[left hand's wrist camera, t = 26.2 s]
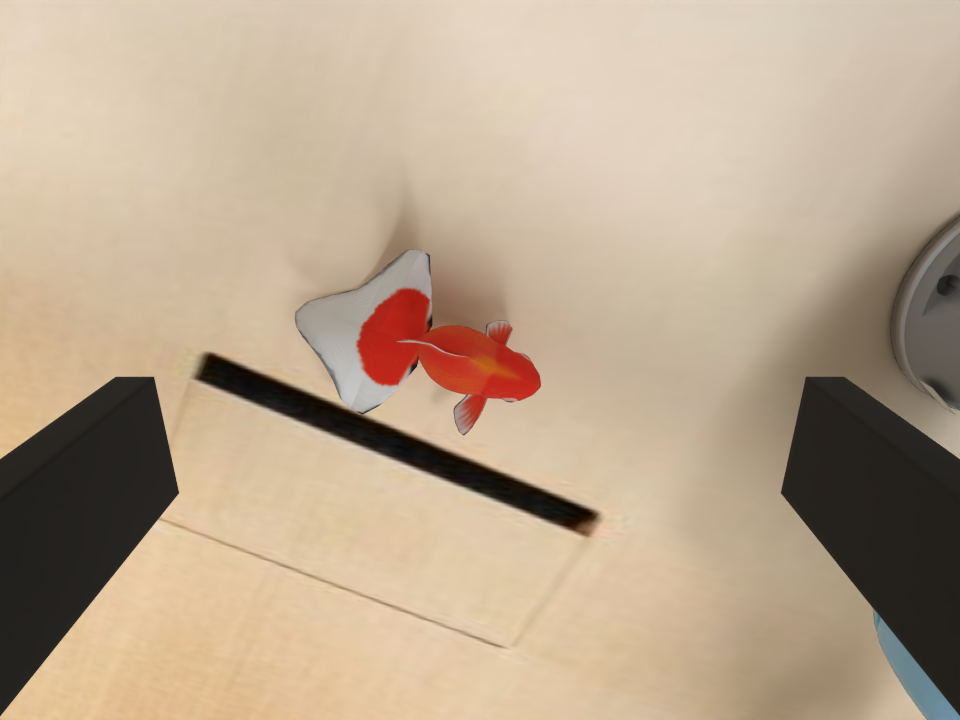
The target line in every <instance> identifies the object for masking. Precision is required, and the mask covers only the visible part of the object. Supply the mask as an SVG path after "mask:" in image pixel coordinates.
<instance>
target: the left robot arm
mask: <svg viewBox="0 0 960 720" xmlns="http://www.w3.org/2000/svg"><path fill="white" fill-rule="evenodd" d="M891 340H892V346H893V351H894V354H895V357H896V360H897V362H898V364H899V366H900V368H901V370H902V371H903V373H904V374H905V376H906V377H907V378H908V379H909V380H910V382H911V383H912V384H913V385H915V386H916V387H917V388H918V389H919V390H921V391H922V392H924V393H926V394H927V395H929V396H930V397H932V398H934V399H935V400H937V401H938V403H939V404H940V405H941V406H942V407H944V408H945V409H947V410H948V411H950V412H952V413H953V414H955V413H954V412H953V411H952V410H951V409H950V408H949V407H951V408H954V409H956V410H959V411H960V217H958V218H957V219H955V220H954V221H953V222H951V223H950V224H949V225H948V226H946V227H945V228H944V229H943V230H942V231H941V232H939V233H938V234H937V235H936V236H935V237H934V238H933V239H932V240H931V241H930V243H929V244H928V245H927V246H926V247H925V248H924V249H923V250H922V252H921V253H920V254H919V256H918V257H917V258H916V260H915V261H914V263H913V264H912V266H911V267H910V269H909V271H908V272H907V274H906V276H905V278H904V280H903V282H902V284H901V286H900V289H899V291H898V294H897V297H896V300H895V303H894V308H893V312H892V320H891ZM178 494H179V491H178V486H177V481H176V477H175V472H174V467H173V463H172V458H171V454H170V449H169V444H168V440H167V435H166V430H165V426H164V421H163V417H162V412H161V407H160V403H159V398H158V393H157V389H156V384H155V380H154V377H115V378H114V379H112V380H111V381H109V382H108V383H107V384H105V385H104V386H102V387H101V388H100V389H98V390H97V391H95V392H94V393H93V394H91V395H90V396H88V397H87V398H86V399H84V400H83V401H81V402H80V403H78V404H77V405H76V406H74V407H73V408H71V409H70V410H69V411H67V412H66V413H64V414H63V415H62V416H60V417H59V418H57V419H56V420H55V421H53V422H52V423H50V424H49V425H48V426H46V427H45V428H43V429H42V430H41V431H39V432H38V433H36V434H35V435H34V436H32V437H31V438H29V439H28V440H27V441H25V442H24V443H22V444H21V445H20V446H18V447H17V448H15V449H14V450H13V451H11V452H10V453H8V454H7V455H6V456H4V457H3V458H1V459H0V716H1V715H2V713H3V712H4V711H5V710H6V708H7V707H8V706H9V705H10V703H11V702H12V701H13V700H14V698H15V697H16V696H17V695H18V693H19V692H20V691H21V690H22V688H23V687H24V686H25V685H26V683H27V682H28V681H29V680H30V678H31V677H32V676H33V675H34V673H35V672H36V671H37V670H38V668H39V667H40V666H41V665H42V663H43V662H44V661H45V660H46V658H47V657H48V656H49V655H50V653H51V652H52V651H53V650H54V648H55V647H56V646H57V645H58V643H59V642H60V641H61V640H62V638H63V637H64V636H65V635H66V633H67V632H68V631H69V630H70V628H71V627H72V626H73V625H74V623H75V622H76V621H77V620H78V618H79V617H80V616H81V615H82V613H83V612H84V611H85V610H86V608H87V607H88V606H89V605H90V603H91V602H92V601H93V600H94V599H95V597H96V596H97V595H98V594H99V592H100V591H101V590H102V589H103V587H104V586H105V585H106V584H107V582H108V581H109V580H110V579H111V577H112V576H113V575H114V574H115V572H116V571H117V570H118V569H119V567H120V566H121V565H122V564H123V562H124V561H125V560H126V559H127V557H128V556H129V555H130V554H131V552H132V551H133V550H134V549H135V547H136V546H137V545H138V544H139V542H140V541H141V540H142V539H143V537H144V536H145V535H146V534H147V532H148V531H149V530H150V529H151V527H152V526H153V525H154V524H155V522H156V521H157V520H158V519H159V517H160V516H161V515H162V514H163V512H164V511H165V510H166V509H167V507H168V506H169V505H170V504H171V502H172V501H173V500H174V499H175V497H176V496H177V495H178ZM781 494H782V495H783V496H784V497H785V499H786V500H787V501H788V502H789V504H790V505H791V506H792V507H793V509H794V510H795V511H796V512H797V514H798V515H799V516H800V517H801V519H802V520H803V521H804V522H805V524H806V525H807V526H808V527H809V529H810V530H811V531H812V532H813V534H814V535H815V536H816V537H817V539H818V540H819V541H820V542H821V544H822V545H823V546H824V547H825V549H826V550H827V551H828V552H829V554H830V555H831V556H832V557H833V559H834V560H835V561H836V562H837V564H838V565H839V566H840V567H841V569H842V570H843V571H844V572H845V574H846V575H847V576H848V577H849V579H850V580H851V581H852V582H853V584H854V585H855V586H856V587H857V589H858V590H859V591H860V592H861V594H862V595H863V596H864V597H865V599H866V600H867V601H868V602H869V603H870V605H871V606H872V607H873V608H874V611H873V615H874V624H875V628H876V630H877V635H878V638H879V642H880V645H881V647H882V649H883V652H884V654H885V656H886V658H887V660H888V662H889V664H890V666H891V667H892V669H893V671H894V673H895V674H896V676H897V678H898V679H899V681H900V682H901V684H902V686H903V687H904V689H905V690H906V692H907V693H908V695H909V696H910V697H911V699H912V700H913V702H914V703H915V705H916V706H917V707H918V709H919V710H920V711H921V713H922V714H923V715H924V717H925V718H926V719H927V720H960V459H959V458H957V457H956V456H954V455H953V454H952V453H950V452H949V451H947V450H946V449H945V448H943V447H942V446H940V445H939V444H938V443H936V442H935V441H933V440H932V439H931V438H929V437H928V436H926V435H925V434H924V433H922V432H921V431H919V430H918V429H917V428H915V427H914V426H912V425H911V424H910V423H908V422H907V421H905V420H904V419H903V418H901V417H900V416H898V415H897V414H896V413H894V412H893V411H891V410H890V409H889V408H887V407H886V406H884V405H883V404H882V403H880V402H879V401H877V400H876V399H874V398H873V397H872V396H870V395H869V394H867V393H866V392H865V391H863V390H862V389H860V388H859V387H858V386H856V385H855V384H853V383H852V382H851V381H849V380H848V379H846V378H845V377H806V380H805V384H804V389H803V393H802V398H801V403H800V407H799V412H798V417H797V421H796V426H795V430H794V435H793V440H792V444H791V449H790V454H789V458H788V463H787V467H786V472H785V477H784V481H783V486H782V491H781Z"/></svg>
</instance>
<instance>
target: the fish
mask: <svg viewBox="0 0 960 720" xmlns="http://www.w3.org/2000/svg"><path fill="white" fill-rule="evenodd" d="M295 322H296V327H297V328H298V330H299V332H300V333H301V335H302V337H303V338H304V339H305V340H306V341H307V343H308V344H309V345H310V346H311V347H312V349H313V350H314V351H315V353H316V354H317V355H318V357H319V358H320V359H321V361H322V362H323V364H324V365H325V367H326V369H327V371H328V372H329V374H330V376H331V377H332V379H333V381H334V384H335V386H336V389H337V391H338V394H339V397H340V399H341V400H342V401H343V402H344V403H345V404H346V405H347V406H348V407H349V408H350V409H352V410H354V411H356V412H358V413H361V414H365V413H366V412H368V411H370V410H372V409H374V408H376V407H378V406H379V405H380V404H381V403H383V402H384V401H385V400H386V399H387V398H389V397H390V396H391V395H392V394H393V393H394V392H395V390H396V389H397V388H398V387H399V386H400V385H401V384H402V383H403V382H404V381H405V379H406V378H407V377H408V376H409V375H410V374H411V373H412V371H413V370H414V369H415V368H416V367H417V364H418V359H419V360H420V362H421V364H422V366H423V367H424V369H425V370H426V372H427V374H428V375H429V376H430V378H431V379H433V380H434V381H435V382H436V383H437V384H439V385H440V386H442V387H444V388H445V389H448V390H450V391H453V392H457V393H461V394H467V395H466V396H465V398H464V399H463V400H462V401H460V402H459V403H458V404H457V405H456V406H455V408H454V418H455V423H456V426H457V428H458V430H459V432H460V433H461V434H462V435H465V434H466V433H467V432H468V431H469V430H470V429H471V428H472V427H473V425H474V424H475V422H476V421H477V419H478V418H479V416H480V414H481V412H482V410H483V408H484V406H485V404H486V401H487V398H497V399H502V400H504V401H506V402H515V401H520V400H523V399H525V398H527V397H530V396H531V395H533V394H534V393H535V392H536V391H537V390H538V389H539V388H540V387H541V381H540V375H539V373H538V372H537V370H536V368H535V367H534V365H533V363H532V362H531V360H530V358H529V357H528V356H527V355H525V354H523V353H517V352H514V351H512V350H511V349H509V348H508V347H507V346H506V343H507V341H508V339H509V336H510V334H511V331H512V327H511V326H510V325H509V323H508V321H496V322H492V323H489V324H487V326H486V335H485V334H483V333H481V332H478V331H476V330H473V329H470V328H467V327H462V326H443V327H439V328H436V329H433V330H431V331H429V330H430V328H431V327H432V285H431V274H430V255H428V254H427V253H426V252H424V251H423V250H406V251H405V252H404V253H403V254H401V255H400V256H399V257H397V258H396V259H395V260H394V261H392V262H391V263H390V264H388V265H387V266H386V267H385V268H384V269H383V270H382V271H381V272H379V273H378V274H377V275H376V276H375V277H374V278H373V279H371V280H370V281H368V282H367V283H366V284H364V285H363V286H362V287H360V288H359V289H356V290H351V291H347V292H343V293H339V294H335V295H332V296H327V297H323V298H318V299H315V300H311V301H308V302H306V303H305V304H304V305H303V306H302V307H301V308H299V309H298V310H297V311H296V312H295Z"/></svg>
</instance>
